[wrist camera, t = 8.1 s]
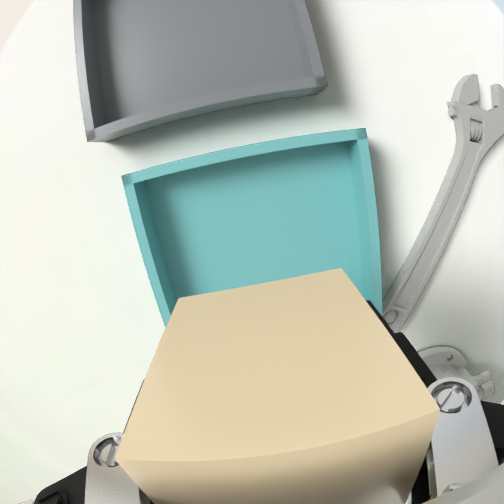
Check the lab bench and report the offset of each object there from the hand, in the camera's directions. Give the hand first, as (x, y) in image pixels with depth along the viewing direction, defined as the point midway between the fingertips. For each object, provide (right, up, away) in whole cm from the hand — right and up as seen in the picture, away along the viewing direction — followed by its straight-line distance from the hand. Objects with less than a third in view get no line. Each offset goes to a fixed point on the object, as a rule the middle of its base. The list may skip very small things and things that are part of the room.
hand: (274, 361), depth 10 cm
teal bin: (0, +4, +14) cm, 15 cm away
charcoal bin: (-5, +20, +9) cm, 22 cm away
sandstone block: (0, 0, +1) cm, 1 cm away
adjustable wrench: (+15, +9, +13) cm, 22 cm away
